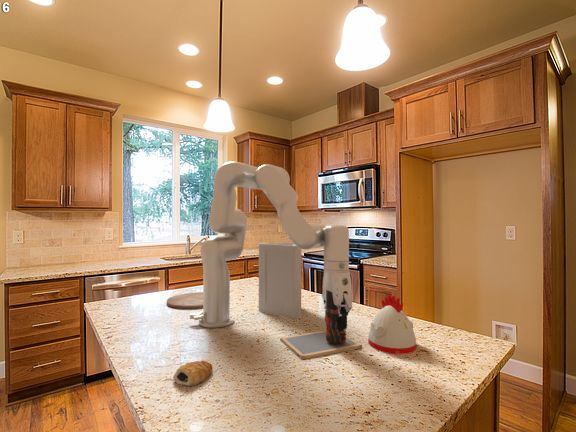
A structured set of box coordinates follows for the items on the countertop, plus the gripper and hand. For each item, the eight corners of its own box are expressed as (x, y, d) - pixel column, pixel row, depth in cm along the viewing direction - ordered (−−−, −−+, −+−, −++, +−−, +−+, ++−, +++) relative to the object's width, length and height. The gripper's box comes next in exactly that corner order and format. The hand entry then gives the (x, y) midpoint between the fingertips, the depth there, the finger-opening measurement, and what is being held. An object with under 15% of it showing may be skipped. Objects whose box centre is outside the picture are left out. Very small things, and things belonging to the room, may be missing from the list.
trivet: (155, 304, 144) (155, 299, 144) (199, 293, 165) (199, 290, 165) (190, 313, 130) (190, 308, 130) (234, 300, 151) (234, 296, 151)
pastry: (198, 366, 83) (199, 352, 83) (219, 372, 80) (219, 357, 80) (170, 383, 75) (170, 366, 75) (192, 390, 72) (192, 373, 72)
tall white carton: (315, 310, 134) (315, 243, 134) (294, 319, 122) (294, 245, 122) (279, 303, 145) (280, 241, 146) (257, 310, 134) (257, 243, 134)
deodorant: (345, 344, 93) (345, 293, 93) (325, 342, 94) (325, 292, 95) (345, 337, 99) (346, 288, 99) (326, 335, 100) (327, 287, 100)
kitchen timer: (391, 357, 88) (391, 303, 88) (359, 341, 100) (359, 293, 101) (426, 348, 95) (426, 297, 95) (391, 333, 107) (391, 288, 107)
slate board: (301, 359, 87) (301, 356, 87) (280, 340, 101) (280, 337, 101) (361, 347, 95) (361, 344, 95) (334, 331, 109) (334, 329, 109)
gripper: (363, 269, 91) (363, 333, 90) (331, 261, 106) (331, 316, 106) (341, 271, 88) (341, 337, 87) (311, 262, 103) (311, 318, 103)
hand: (335, 324), depth 97 cm, fingers closed on deodorant, 5 cm apart
